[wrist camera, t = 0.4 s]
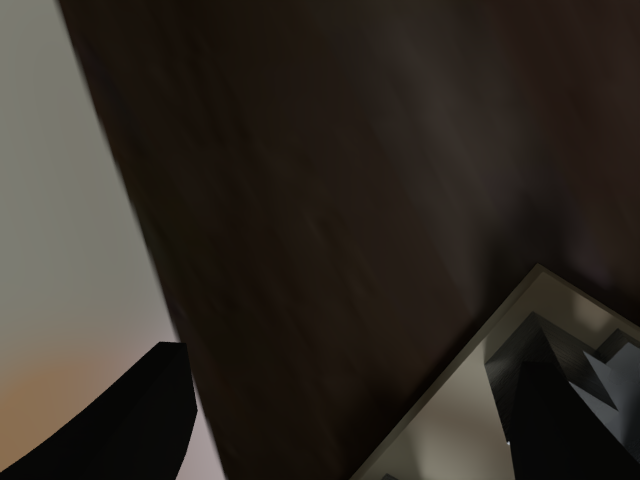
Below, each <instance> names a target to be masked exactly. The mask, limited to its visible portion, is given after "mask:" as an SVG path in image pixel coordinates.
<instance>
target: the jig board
mask: <svg viewBox="0 0 640 480" xmlns="http://www.w3.org/2000/svg"><path fill="white" fill-rule="evenodd" d="M532 311H534V312H535V313H537V314H539V315H540V316H542V317H544V318H545V319H547V320H548V321H550V322H552V323H553V324H555V325H556V326H558V327H560V328H561V329H563V330H565V331H566V332H568V333H569V334H571V335H573V336H574V337H576V338H577V339H579V340H581V341H582V342H584V343H585V344H587V345H589V346H590V347H592V348H594V349H595V350H596V349H597V348H598V347H599V346H600V345H601V344H602V343H603V342H604V341H605V340H606V339H607V338H608V337H609V336H610V335H611V334H612V333H613V332H614V331H615V330H616V329H617V328H619V329H620V330H622V331H623V332H625V333H627V334H628V335H630V336H631V337H633V338H635V339H636V340H638V341H639V342H640V327H638V326H637V325H635V324H633V323H632V322H630V321H629V320H627V319H626V318H624V317H622V316H621V315H619V314H618V313H616V312H615V311H613V310H611V309H610V308H608V307H607V306H605V305H603V304H602V303H600V302H599V301H597V300H596V299H594V298H592V297H591V296H589V295H588V294H586V293H584V292H583V291H581V290H580V289H578V288H577V287H575V286H573V285H572V284H570V283H569V282H567V281H566V280H564V279H562V278H561V277H559V276H558V275H556V274H554V273H553V272H551V271H550V270H548V269H547V268H545V267H543V266H542V265H540V264H539V263H537V264H536V265H535V266H534V267H533V268H532V270H531V271H530V272H529V273H528V274H527V275H526V277H525V278H524V279H523V280H522V281H521V282H520V283H519V285H518V286H517V287H516V288H515V289H514V290H513V292H512V293H511V294H510V295H509V296H508V297H507V298H506V300H505V301H504V302H503V303H502V304H501V305H500V306H499V308H498V309H497V310H496V311H495V312H494V313H493V315H492V316H491V317H490V318H489V319H488V320H487V321H486V323H485V324H484V325H483V326H482V327H481V328H480V330H479V331H478V332H477V333H476V334H475V335H474V336H473V338H472V339H471V340H470V341H469V342H468V343H467V345H466V346H465V347H464V348H463V349H462V350H461V351H460V353H459V354H458V355H457V356H456V357H455V358H454V359H453V361H452V362H451V363H450V364H449V365H448V366H447V368H446V369H445V370H444V371H443V372H442V373H441V374H440V376H439V377H438V378H437V379H436V380H435V381H434V383H433V384H432V385H431V386H430V387H429V388H428V389H427V391H426V392H425V393H424V394H423V395H422V396H421V397H420V399H419V400H418V401H417V402H416V403H415V404H414V406H413V407H412V408H411V409H410V410H409V411H408V412H407V414H406V415H405V416H404V417H403V418H402V419H401V421H400V422H399V423H398V424H397V425H396V426H395V427H394V429H393V430H392V431H391V432H390V433H389V434H388V436H387V437H386V438H385V439H384V440H383V441H382V442H381V444H380V445H379V446H378V447H377V448H376V449H375V450H374V452H373V453H372V454H371V455H370V456H369V457H368V459H367V460H366V461H365V462H364V463H363V464H362V465H361V467H360V468H359V469H358V470H357V471H356V472H355V474H354V475H353V476H352V477H351V478H350V479H349V480H381V479H382V478H383V477H384V475H385V474H386V473H388V474H389V475H391V476H393V477H395V478H397V479H398V480H515V476H514V470H513V463H512V457H511V450H510V445H509V444H507V442H506V438H505V435H504V431H503V428H502V425H501V421H500V418H499V414H498V411H497V408H496V404H495V401H494V397H493V394H492V390H491V387H490V384H489V380H488V377H487V373H486V370H485V367H484V364H485V363H486V362H487V361H488V360H489V359H490V358H491V357H492V356H493V354H494V353H495V352H496V351H497V350H498V349H499V348H500V347H501V346H502V344H503V343H504V342H505V341H506V340H507V339H508V338H509V337H510V336H511V334H512V333H513V332H514V331H515V330H516V329H517V328H518V327H519V326H520V325H521V323H522V322H523V321H524V320H525V319H526V318H527V317H528V316H529V315H530V313H531V312H532Z"/></svg>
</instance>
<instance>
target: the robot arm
mask: <svg viewBox="0 0 640 480" xmlns="http://www.w3.org/2000/svg"><path fill="white" fill-rule="evenodd" d="M197 411H198V410H197V404H196V398H195V392H194V387H193V381H192V375H191V369H190V363H189V358H188V352H187V346H186V343H176V342H159V343H157V344H156V345H155V346H154V347H153V348H152V349H151V350H150V351H148V352H147V353H146V354H145V355H144V356H143V357H142V358H141V359H140V360H139V361H137V362H136V363H135V364H134V365H133V366H132V367H131V368H130V369H129V370H128V371H127V372H125V373H124V374H123V375H122V376H121V377H120V378H119V379H118V380H117V381H116V382H114V383H113V384H112V385H111V386H110V387H109V388H108V389H107V390H106V391H104V392H103V393H102V394H101V395H100V396H99V397H98V398H96V399H95V400H94V401H93V402H92V403H91V404H90V405H88V406H87V407H86V408H85V409H84V410H83V411H81V412H80V413H79V414H78V415H76V416H75V417H74V418H73V419H71V420H70V421H69V422H68V423H67V424H65V425H64V426H63V427H62V428H60V429H59V430H58V431H57V432H56V433H54V434H53V435H52V436H51V437H49V438H48V439H47V440H45V441H44V442H43V443H41V444H40V445H39V446H37V447H36V448H35V449H33V450H32V451H30V452H29V453H28V454H27V455H25V456H23V457H22V458H21V459H19V460H18V461H16V462H15V463H13V464H12V465H10V466H9V467H8V468H6V469H5V470H3V471H2V472H0V480H175V479H176V477H177V475H178V472H179V470H180V467H181V465H182V462H183V460H184V457H185V455H186V452H187V448H188V445H189V441H190V437H191V434H192V430H193V426H194V423H195V419H196V415H197ZM508 436H509V443H510V450H511V457H512V463H513V470H514V476H515V480H640V464H639V463H638V462H637V461H636V459H635V458H634V457H633V456H632V455H631V454H630V453H629V452H628V451H627V450H626V449H625V448H624V446H623V445H622V444H621V443H620V442H619V441H618V440H617V439H616V437H615V436H614V435H613V434H612V433H611V432H610V431H609V430H608V429H607V427H606V426H605V425H604V424H603V423H602V422H601V420H600V419H599V418H598V417H597V416H596V415H595V413H594V412H593V411H592V410H591V409H590V408H589V406H588V405H587V404H586V403H585V402H584V400H583V399H582V398H581V397H580V395H579V394H578V393H577V392H576V391H575V389H574V388H573V387H572V386H571V384H570V383H569V382H568V381H567V380H566V378H565V377H564V376H563V375H562V373H561V372H560V371H559V370H558V368H557V367H556V366H555V365H554V364H553V363H550V362H531V361H522V363H521V368H520V373H519V378H518V383H517V388H516V393H515V398H514V403H513V408H512V413H511V418H510V423H509V428H508Z"/></svg>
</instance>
